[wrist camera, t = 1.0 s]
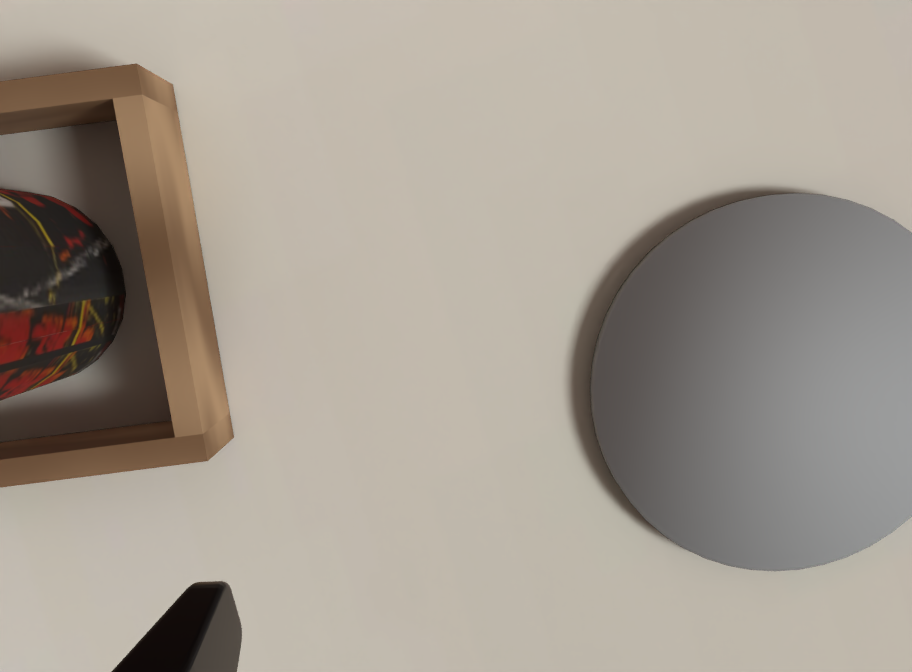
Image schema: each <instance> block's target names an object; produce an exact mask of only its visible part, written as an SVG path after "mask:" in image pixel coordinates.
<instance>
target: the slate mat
mask: <svg viewBox="0 0 912 672" xmlns="http://www.w3.org/2000/svg"><path fill="white" fill-rule="evenodd" d="M590 396H591V412H592V417H593V423H594V428H595V434H596V437H597V440H598V443H599V446H600V449H601V452H602V455H603V457H604V459H605V461H606V464H607V466H608V468H609V470H610V472H611V474H612V476H613V478H614V479H615V481H616V482H617V484H618V485H619V487H620V488H621V490H622V491H623V492H624V494H625V495H626V497H627V498H628V500H629V501H630V503H631V504H632V505H633V506H634V507H635V508H636V509H637V510H638V512H639V513H640V514H641V515H642V516H643V517H644V518H645V519H646V520H647V521H648V522H649V523H650V524H651V525H652V526H654V527H655V528H656V529H657V530H658V531H659V532H661V533H662V534H663V535H664V536H666V537H667V538H669V539H670V540H672V541H673V542H675V543H676V544H678V545H680V546H681V547H683V548H684V549H686V550H689V551H691V552H693V553H695V554H697V555H699V556H701V557H703V558H706V559H709V560H712V561H715V562H718V563H721V564H724V565H728V566H733V567H738V568H744V569H749V570H763V571H785V570H799V569H804V568H810V567H815V566H820V565H824V564H827V563H830V562H834V561H837V560H840V559H843V558H846V557H848V556H850V555H853V554H855V553H857V552H859V551H861V550H863V549H865V548H868V547H870V546H871V545H873V544H875V543H876V542H878V541H879V540H881V539H883V538H884V537H886V536H887V535H889V534H891V533H892V532H893V531H894V530H896V529H897V528H898V527H899V526H901V525H902V524H903V523H904V522H906V521H907V520H908V519H909V518H911V517H912V233H911V232H910V231H909V230H907V229H906V228H904V227H903V226H902V225H900V224H899V223H897V222H896V221H895V220H893V219H891V218H889V217H887V216H885V215H883V214H881V213H880V212H878V211H876V210H874V209H872V208H869V207H866V206H863V205H861V204H858V203H855V202H852V201H849V200H846V199H841V198H836V197H831V196H826V195H818V194H802V193H792V194H778V195H768V196H761V197H756V198H751V199H747V200H742V201H737V202H734V203H731V204H728V205H725V206H722V207H720V208H717V209H714V210H711V211H709V212H707V213H705V214H703V215H701V216H699V217H697V218H695V219H693V220H691V221H689V222H688V223H686V224H685V225H683V226H682V227H680V228H679V229H677V230H676V231H674V232H673V233H671V234H670V235H668V236H667V237H666V238H665V239H664V240H663V241H661V242H660V243H659V244H658V245H657V246H656V247H654V248H653V249H652V250H651V251H650V252H649V253H648V254H647V255H646V256H645V257H644V258H643V259H642V261H641V262H640V263H639V264H638V265H637V266H636V267H635V268H634V270H633V271H632V272H631V273H630V275H629V276H628V278H627V279H626V281H625V282H624V284H623V285H622V286H621V288H620V289H619V291H618V292H617V294H616V296H615V298H614V300H613V302H612V304H611V306H610V308H609V310H608V312H607V314H606V316H605V319H604V321H603V324H602V327H601V330H600V332H599V335H598V338H597V342H596V347H595V351H594V356H593V360H592V370H591V381H590Z"/></svg>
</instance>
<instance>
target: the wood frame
mask: <svg viewBox="0 0 912 672" xmlns="http://www.w3.org/2000/svg"><path fill="white" fill-rule="evenodd" d="M111 120H117V125H118V131H119V136H120V141H121V147H122V152H123V158H124V163H125V168H126V174H127V179H128V185H129V190H130V196H131V201H132V206H133V212H134V217H135V223H136V228H137V234H138V239H139V244H140V250H141V255H142V261H143V266H144V272H145V277H146V282H147V288H148V293H149V299H150V304H151V310H152V315H153V320H154V326H155V331H156V337H157V342H158V348H159V353H160V358H161V364H162V369H163V375H164V380H165V386H166V391H167V396H168V402H169V407H170V413H171V418H172V421H165V422H157V423H149V424H141V425H133V426H126V427H118V428H110V429H102V430H94V431H87V432H79V433H71V434H63V435H55V436H47V437H40V438H32V439H24V440H16V441H8V442H1V443H0V487H7V486H15V485H23V484H31V483H39V482H47V481H54V480H62V479H70V478H78V477H86V476H94V475H101V474H109V473H117V472H125V471H133V470H141V469H148V468H156V467H164V466H172V465H180V464H188V463H195V462H203V461H208V460H209V459H210V458H212V457H213V456H214V455H215V454H216V453H217V452H218V451H219V450H220V449H222V448H223V447H224V446H225V445H226V444H227V443H228V442H229V441H230V440H232V439H233V438H234V435H233V429H232V423H231V418H230V412H229V406H228V400H227V394H226V389H225V383H224V377H223V371H222V366H221V360H220V354H219V348H218V343H217V337H216V331H215V325H214V319H213V314H212V308H211V302H210V296H209V291H208V285H207V279H206V273H205V267H204V262H203V256H202V250H201V244H200V239H199V233H198V227H197V221H196V216H195V210H194V204H193V198H192V192H191V187H190V181H189V175H188V169H187V164H186V158H185V152H184V146H183V140H182V135H181V129H180V123H179V117H178V112H177V106H176V100H175V94H174V89H173V84H171V83H169V82H167V81H166V80H164V79H162V78H160V77H159V76H157V75H155V74H154V73H152V72H150V71H148V70H147V69H145V68H143V67H142V66H140V65H138V64H130V65H123V66H115V67H107V68H100V69H92V70H85V71H77V72H69V73H62V74H54V75H46V76H39V77H31V78H23V79H16V80H8V81H0V135H4V134H12V133H19V132H27V131H35V130H42V129H50V128H58V127H65V126H73V125H81V124H88V123H96V122H104V121H111Z"/></svg>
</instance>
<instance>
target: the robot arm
mask: <svg viewBox="0 0 912 672" xmlns="http://www.w3.org/2000/svg"><path fill="white" fill-rule="evenodd" d="M241 640H242V628H241V622H240V619H239V615H238V612H237V608H236V605H235V601H234V598H233V594H232V591H231V588H230V586H229V585H228V584H227V583H226V582H223V581H215V582H197V583H194V584H192V585H191V586H190V587H188V588H187V589H186V590H185V592H184V593H183V594H182V595H181V596H180V597H179V598H178V599H177V600H176V601H175V603H174V604H173V605H172V606H171V607H170V608H169V609H168V610H167V611H166V613H165V614H164V615H163V616H162V617H161V618H160V619H159V620H158V621H157V622H156V624H155V625H154V626H153V627H152V628H151V629H150V630H149V631H148V632H147V633H146V635H145V636H144V637H143V638H142V639H141V640H140V641H139V642H138V643H137V644H136V646H135V647H134V648H133V649H132V650H131V651H130V652H129V653H128V654H127V655H126V657H125V658H124V659H123V660H122V661H121V662H120V663H119V664H118V665H117V667H116V668H115V669H114V670H113V671H112V672H237V667H238V661H239V655H240V648H241Z"/></svg>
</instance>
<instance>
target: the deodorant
mask: <svg viewBox="0 0 912 672" xmlns="http://www.w3.org/2000/svg"><path fill="white" fill-rule="evenodd" d="M125 295H126V294H125V287H124V279H123V272H122V268H121V265H120V263H119V261H118V258H117V256H116V253H115V251H114V249H113V246H112V245H111V243H110V242H109V241H108V239H107V238H106V237H105V235H104V234H103V233H102V231H101V230H100V229H99V227H98V226H97V225H96V224H95V223H94V222H93V221H91V220H90V219H89V218H88V217H87V216H85V215H84V214H83V213H82V212H81V211H79V210H78V209H77V208H75V207H73V206H71V205H69V204H67V203H64V202H62V201H60V200H58V199H56V198H54V197H50V196H45V195H39V194H34V193H29V192H21V191H13V190H5V189H0V400H3V399H6V398H9V397H12V396H14V395H17V394H20V393H23V392H26V391H29V390H32V389H35V388H37V387H40V386H43V385H46V384H49V383H52V382H55V381H57V380H60V379H63V378H66V377H69V376H71V375H74V374H77V373H79V372H81V371H82V370H84V369H85V368H86V367H88V366H89V365H91V364H92V363H93V362H95V361H96V360H98V359H99V357H100V356H101V355H102V354H103V352H104V351H105V350H106V349H107V348H108V346H109V345H110V344H111V343H112V341H113V340H114V337H115V335H116V333H117V330H118V328H119V325H120V323H121V321H122V318H123V310H124V302H125Z"/></svg>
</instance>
